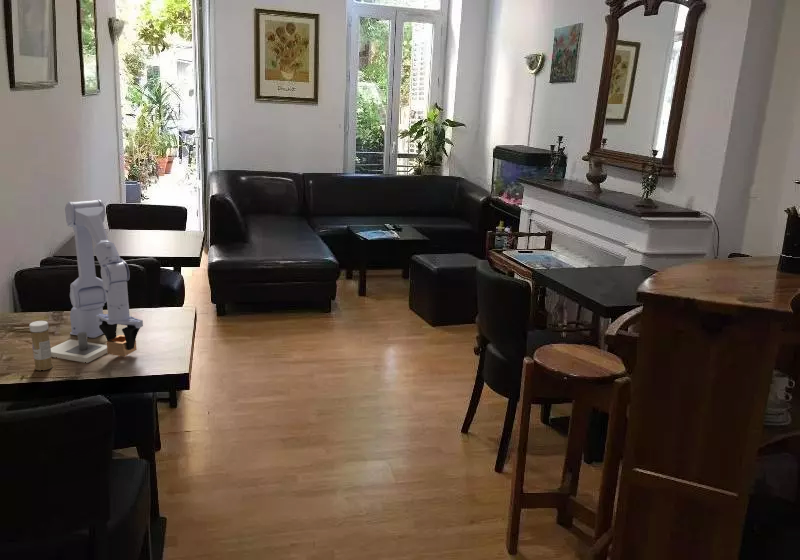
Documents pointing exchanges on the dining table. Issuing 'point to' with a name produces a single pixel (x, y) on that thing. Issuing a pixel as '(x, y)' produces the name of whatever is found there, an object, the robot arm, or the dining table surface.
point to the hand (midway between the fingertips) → (121, 347)
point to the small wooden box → (119, 346)
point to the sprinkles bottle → (41, 345)
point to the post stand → (79, 349)
